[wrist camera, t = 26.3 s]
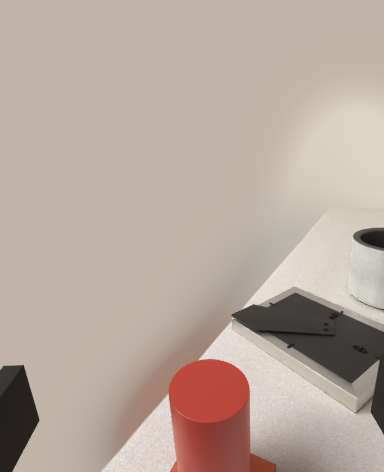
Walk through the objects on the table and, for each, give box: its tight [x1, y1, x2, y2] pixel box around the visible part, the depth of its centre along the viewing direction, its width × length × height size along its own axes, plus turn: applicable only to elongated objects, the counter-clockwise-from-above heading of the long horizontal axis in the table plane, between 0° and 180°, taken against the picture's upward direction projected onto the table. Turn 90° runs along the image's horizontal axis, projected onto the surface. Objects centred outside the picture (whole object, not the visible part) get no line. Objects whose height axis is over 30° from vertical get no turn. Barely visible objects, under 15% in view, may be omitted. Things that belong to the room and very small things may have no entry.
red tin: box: [169, 359, 251, 472], centre depth 27 cm, size 6×6×12 cm
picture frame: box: [232, 287, 384, 413], centre depth 48 cm, size 16×3×21 cm
